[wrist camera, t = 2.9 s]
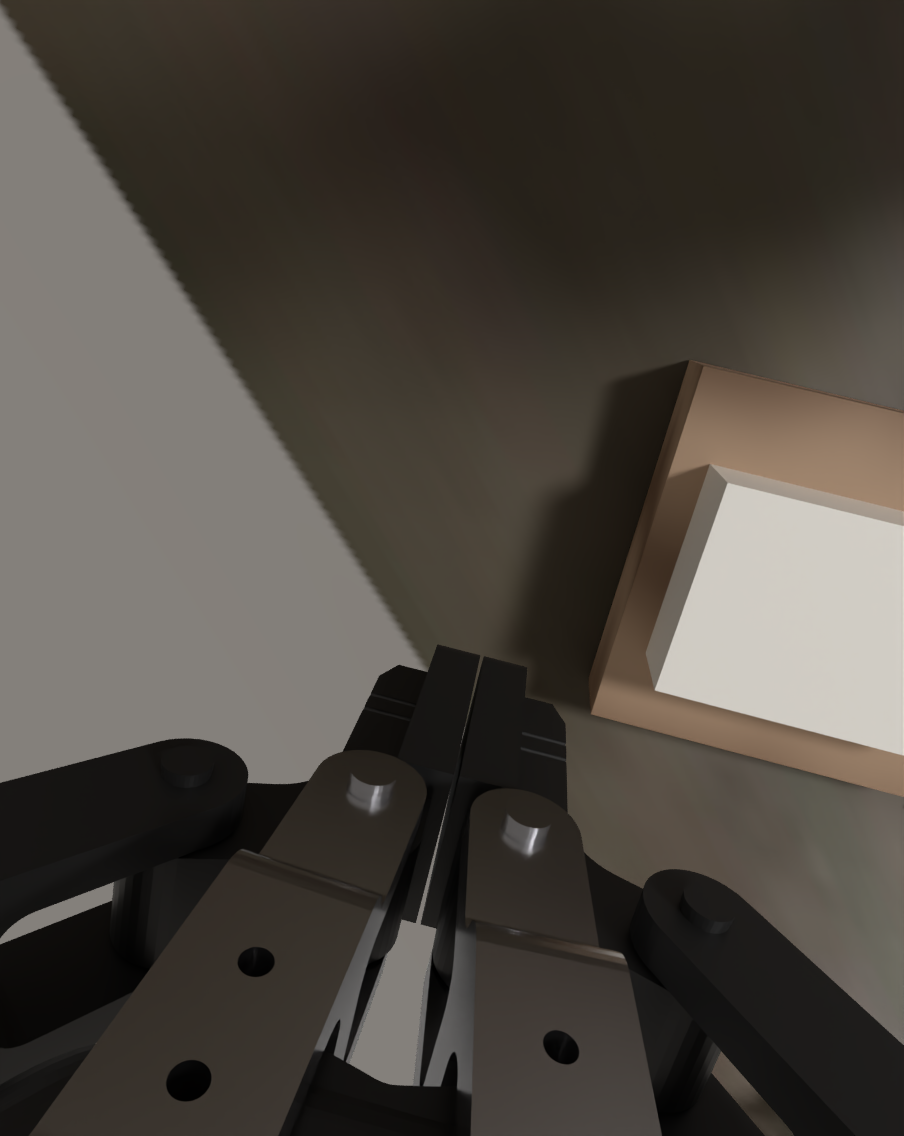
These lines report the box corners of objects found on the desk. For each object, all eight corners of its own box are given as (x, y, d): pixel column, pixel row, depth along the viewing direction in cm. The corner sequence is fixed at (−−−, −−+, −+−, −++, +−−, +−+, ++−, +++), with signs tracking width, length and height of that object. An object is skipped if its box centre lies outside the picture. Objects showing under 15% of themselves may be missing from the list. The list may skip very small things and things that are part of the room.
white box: (709, 463, 22) (728, 483, 20) (1033, 543, 22) (1091, 572, 19) (645, 652, 24) (654, 690, 22) (940, 729, 24) (982, 776, 21)
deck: (689, 359, 24) (703, 366, 21) (1094, 456, 23) (1155, 473, 21) (588, 679, 27) (590, 713, 25) (934, 769, 27) (970, 814, 24)
